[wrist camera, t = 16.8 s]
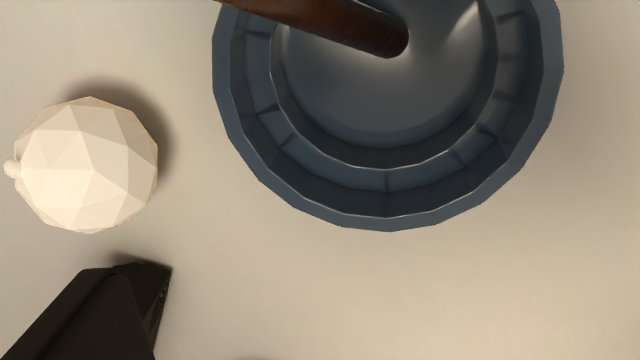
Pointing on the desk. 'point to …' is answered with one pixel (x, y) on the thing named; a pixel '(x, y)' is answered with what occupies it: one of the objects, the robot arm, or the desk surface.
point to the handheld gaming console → (148, 293)
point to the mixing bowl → (391, 108)
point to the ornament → (85, 165)
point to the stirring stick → (335, 22)
